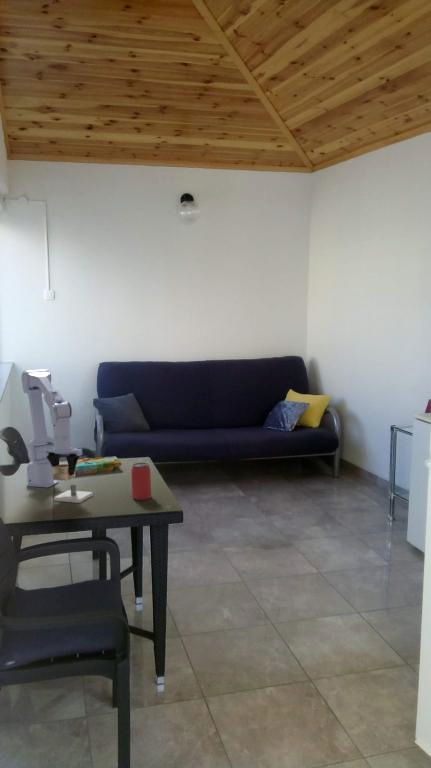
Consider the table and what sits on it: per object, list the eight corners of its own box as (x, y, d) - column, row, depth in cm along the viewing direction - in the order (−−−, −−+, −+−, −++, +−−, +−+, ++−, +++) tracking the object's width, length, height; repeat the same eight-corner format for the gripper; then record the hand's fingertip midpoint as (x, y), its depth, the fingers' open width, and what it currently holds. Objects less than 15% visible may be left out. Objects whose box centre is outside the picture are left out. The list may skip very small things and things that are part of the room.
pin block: (54, 500, 234) (53, 487, 234) (68, 493, 243) (67, 480, 242) (79, 502, 231) (78, 489, 230) (92, 495, 239) (92, 482, 239)
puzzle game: (67, 459, 277) (115, 454, 283) (68, 470, 277) (116, 465, 284) (71, 465, 266) (121, 460, 272) (72, 477, 266) (121, 471, 273)
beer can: (151, 499, 232) (150, 466, 231) (132, 501, 231) (131, 467, 230) (150, 494, 239) (149, 461, 237) (132, 495, 238) (130, 462, 236)
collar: (53, 479, 235) (52, 467, 234) (61, 475, 240) (61, 463, 240) (66, 480, 233) (66, 468, 232) (75, 476, 238) (74, 464, 238)
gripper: (37, 437, 234) (40, 475, 235) (73, 439, 229) (76, 478, 230) (49, 434, 240) (51, 470, 242) (84, 435, 235) (86, 473, 237)
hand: (64, 474), depth 236 cm, fingers closed on collar, 6 cm apart
